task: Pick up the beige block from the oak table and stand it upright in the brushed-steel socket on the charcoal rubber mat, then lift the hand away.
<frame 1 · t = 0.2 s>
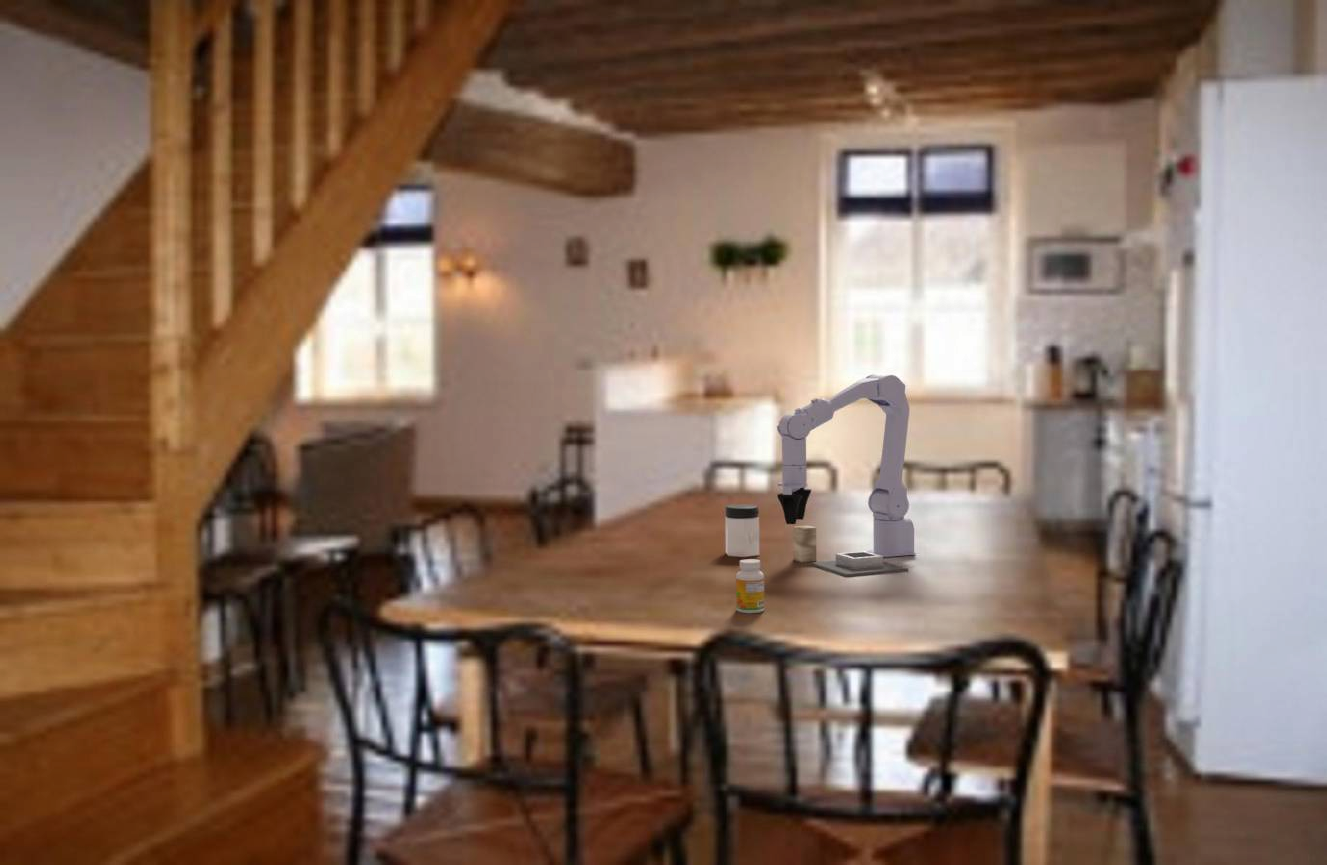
hand: (794, 521, 277), 10 cm above the table, tool pointing down, fingers open, 7 cm apart
mat: (859, 568, 268), on the table
supplement bottle: (750, 611, 225), on the table
jar: (742, 555, 289), on the table
socket: (859, 560, 268), on the mat, point 1 cm above the table
beige block: (805, 560, 280), on the table
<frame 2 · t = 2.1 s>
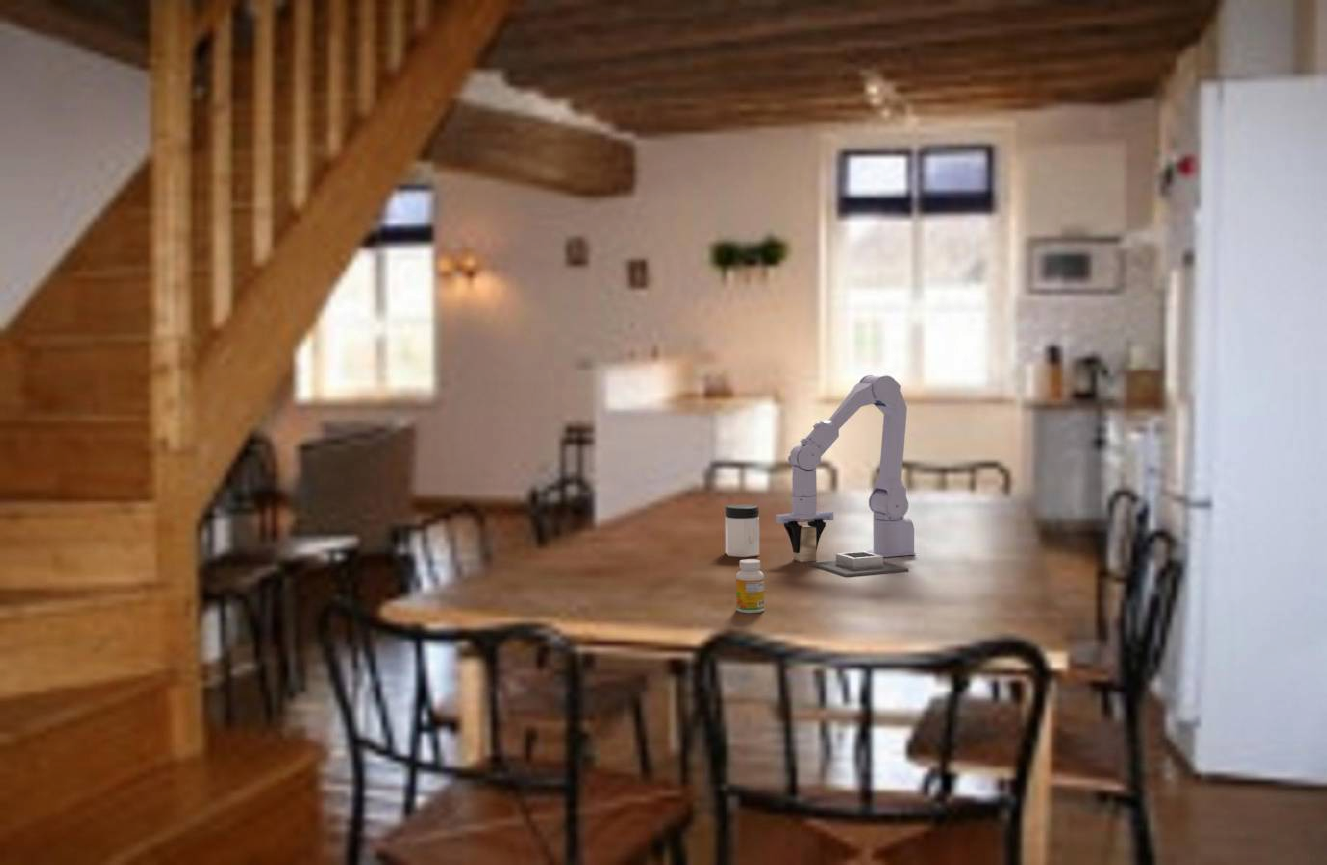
hand: (804, 551, 280), 2 cm above the table, tool pointing down, fingers closed on beige block, 4 cm apart
beige block: (805, 560, 280), on the table, touching gripper
everything else where it was.
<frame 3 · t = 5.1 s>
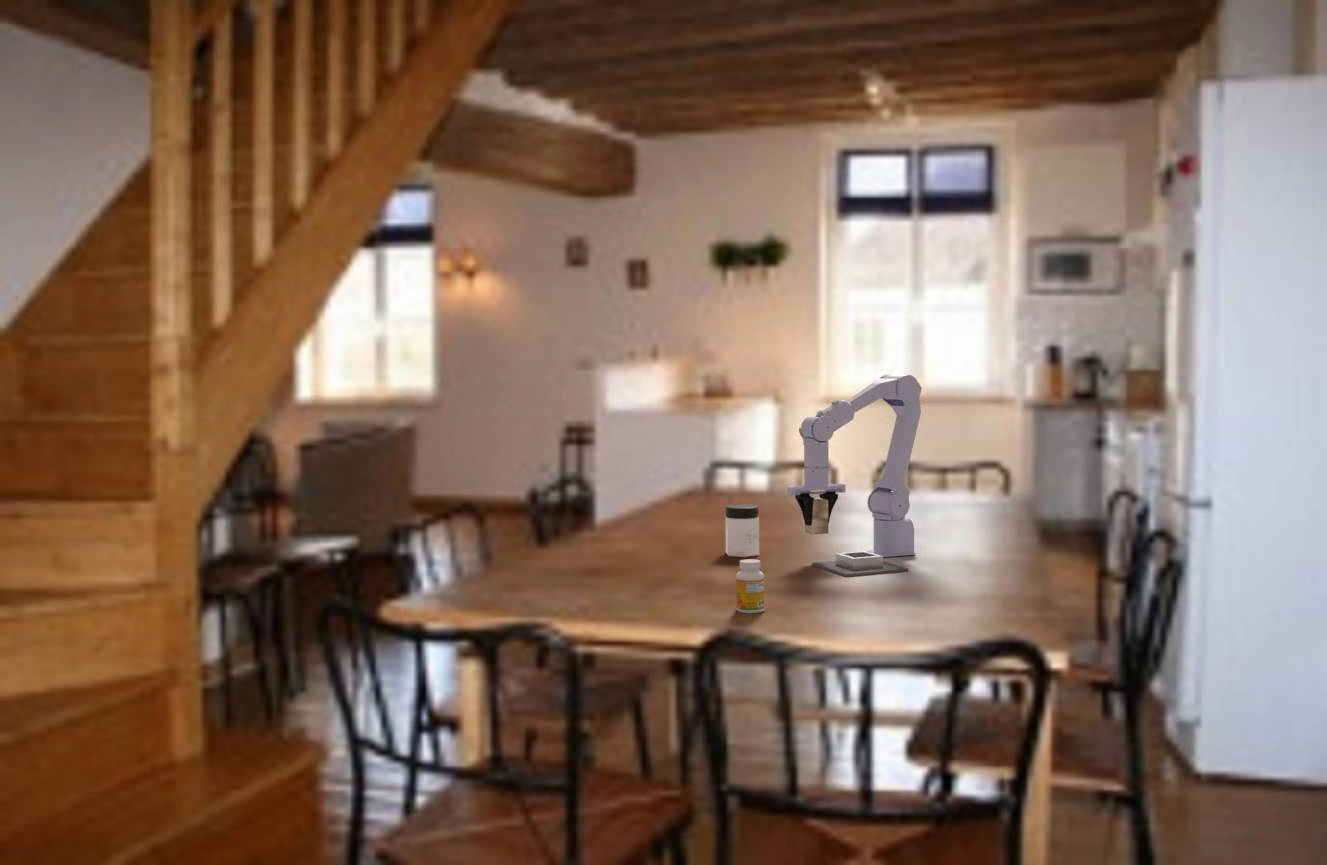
hand: (816, 524, 277), 9 cm above the table, tool pointing down, fingers closed on beige block, 4 cm apart
beige block: (816, 532, 277), point 7 cm above the table, touching gripper
everything else where it was.
when the fingers open (4 cm above the table, at t = 8.2 s): beige block drops 1 cm, resting on mat.
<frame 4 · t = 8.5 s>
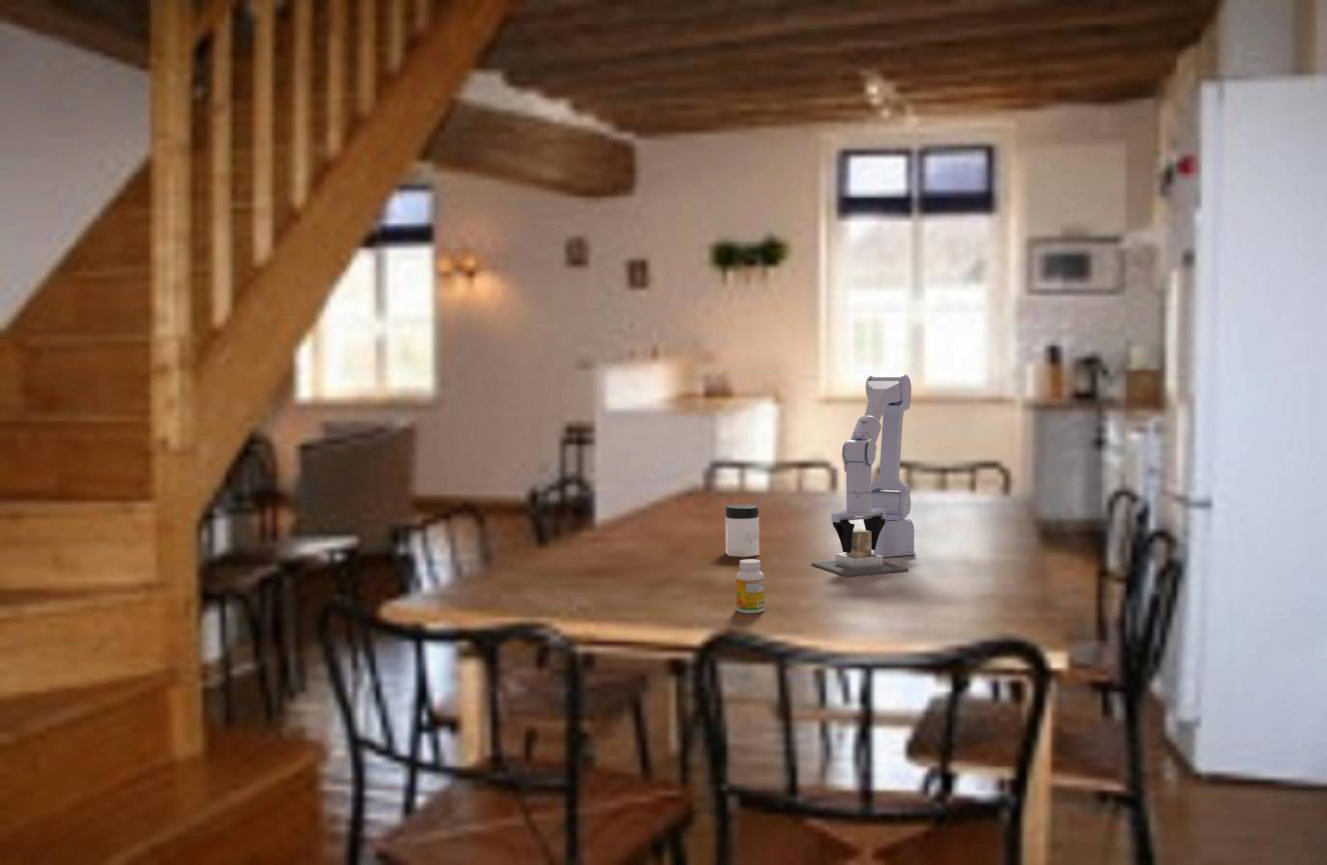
hand: (859, 550, 268), 4 cm above the table, tool pointing down, fingers open, 7 cm apart
beige block: (859, 565, 268), point 1 cm above the table, touching mat
everything else where it was.
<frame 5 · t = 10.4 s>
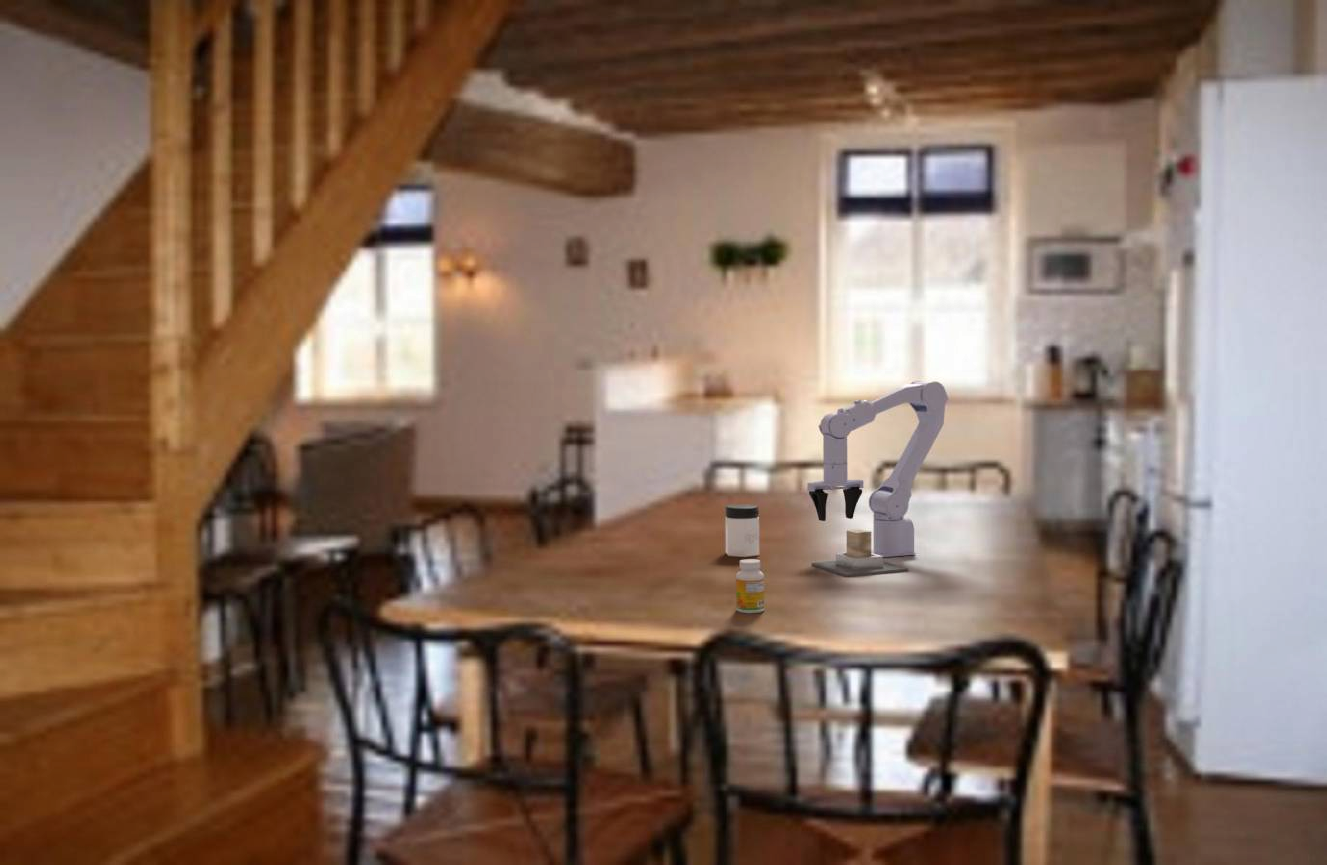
hand: (835, 519, 281), 9 cm above the table, tool pointing down, fingers open, 7 cm apart
nothing on the table moved.
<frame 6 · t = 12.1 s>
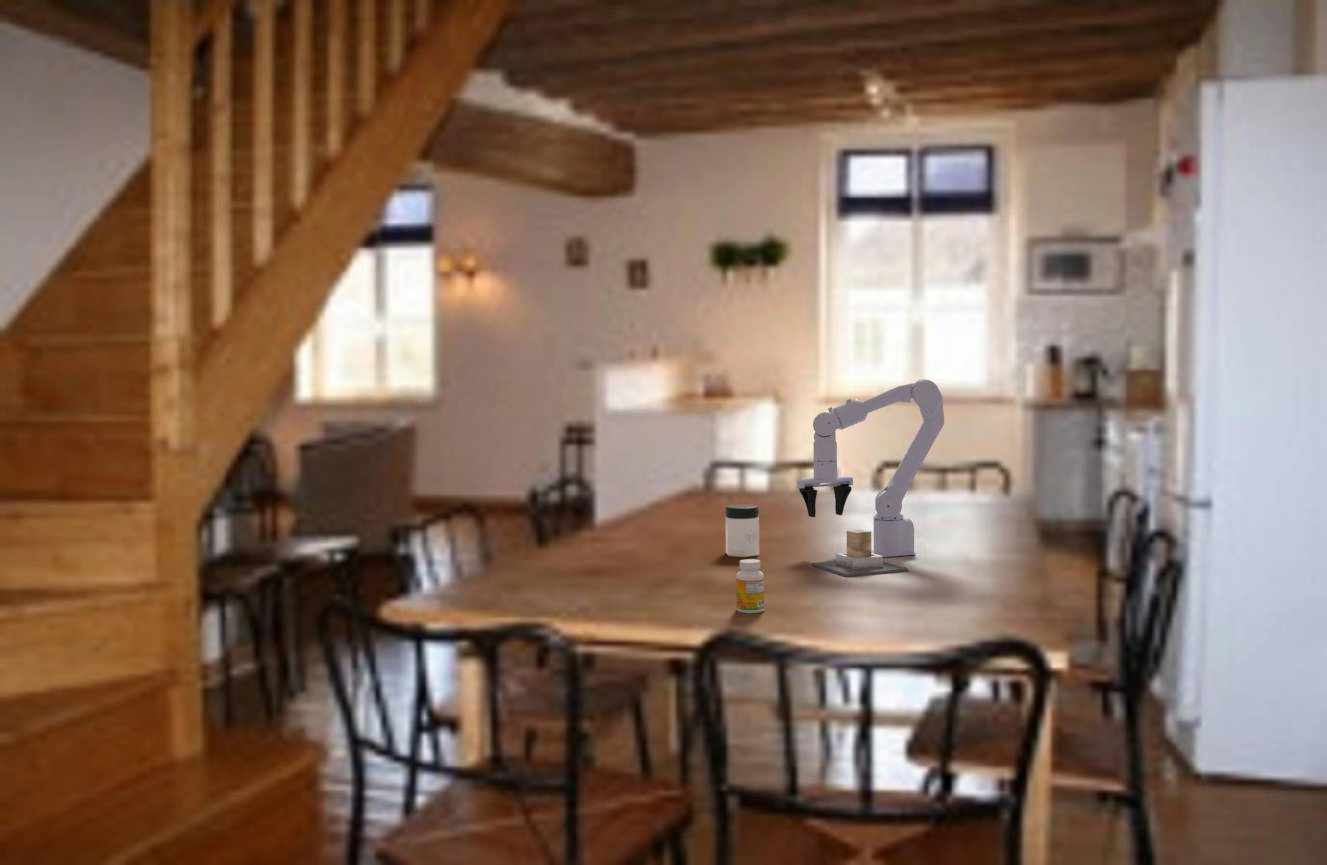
hand: (825, 515, 288), 9 cm above the table, tool pointing down, fingers open, 7 cm apart
nothing on the table moved.
at the end: beige block 0.0 cm off-centre on the socket, point 0.6 cm above the socket's base; beige block tilted 0°; the gripper is holding nothing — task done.
